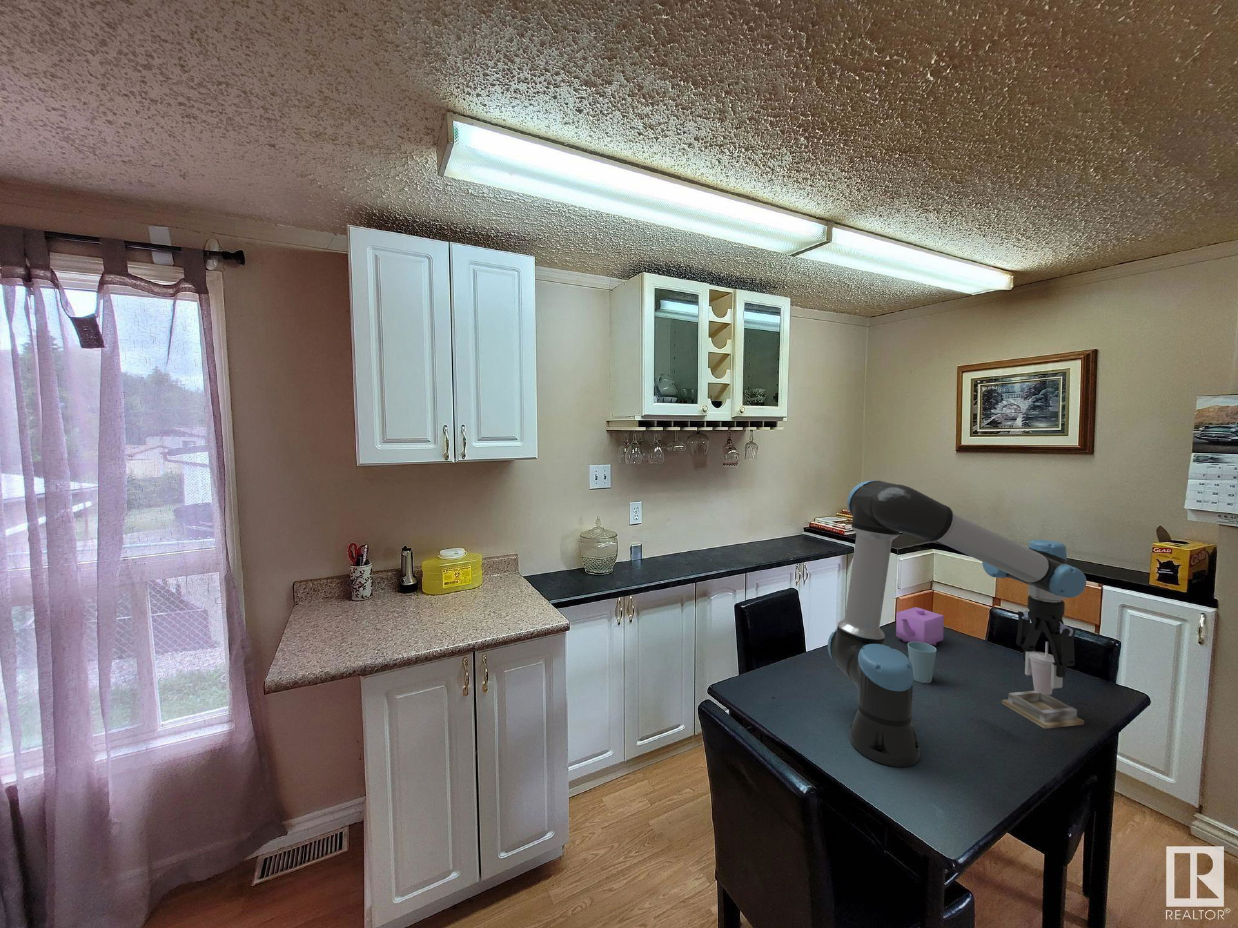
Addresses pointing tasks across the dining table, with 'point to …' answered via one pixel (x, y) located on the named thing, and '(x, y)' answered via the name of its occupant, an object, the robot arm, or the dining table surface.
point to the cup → (922, 660)
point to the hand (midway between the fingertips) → (1043, 680)
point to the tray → (1043, 709)
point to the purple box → (919, 626)
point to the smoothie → (1042, 670)
